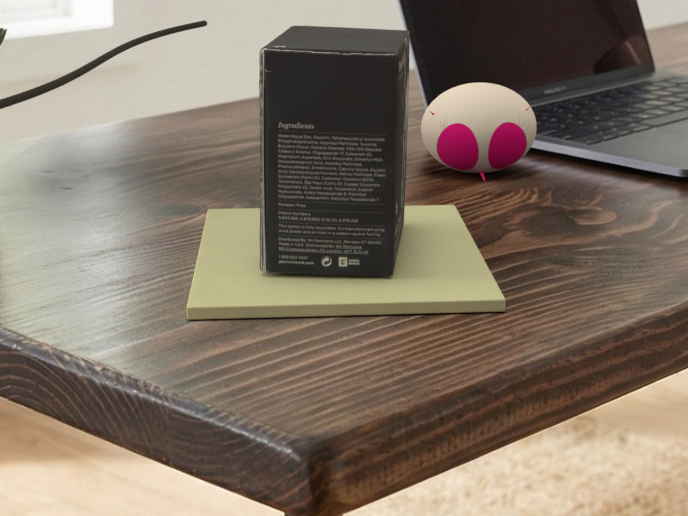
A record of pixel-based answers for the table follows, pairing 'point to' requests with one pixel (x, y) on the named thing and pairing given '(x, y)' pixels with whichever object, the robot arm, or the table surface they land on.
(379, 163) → the box
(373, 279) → the mat
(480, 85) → the stress ball
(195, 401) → the table surface
